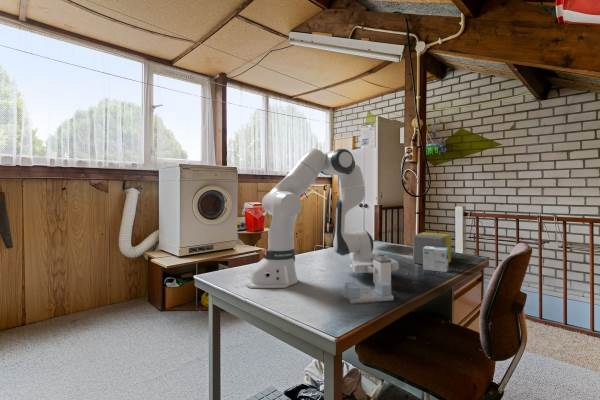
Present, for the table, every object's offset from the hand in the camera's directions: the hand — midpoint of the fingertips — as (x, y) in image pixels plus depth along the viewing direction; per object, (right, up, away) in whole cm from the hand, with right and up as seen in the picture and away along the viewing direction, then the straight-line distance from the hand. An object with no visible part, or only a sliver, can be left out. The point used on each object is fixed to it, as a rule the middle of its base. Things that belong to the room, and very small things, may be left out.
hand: (382, 270), depth 127 cm
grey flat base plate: (-9, -7, -14) cm, 18 cm away
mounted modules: (-9, -5, -14) cm, 18 cm away
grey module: (0, -6, +1) cm, 6 cm away
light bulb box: (+32, -5, +24) cm, 40 cm away
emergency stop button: (+39, -4, +40) cm, 56 cm away
